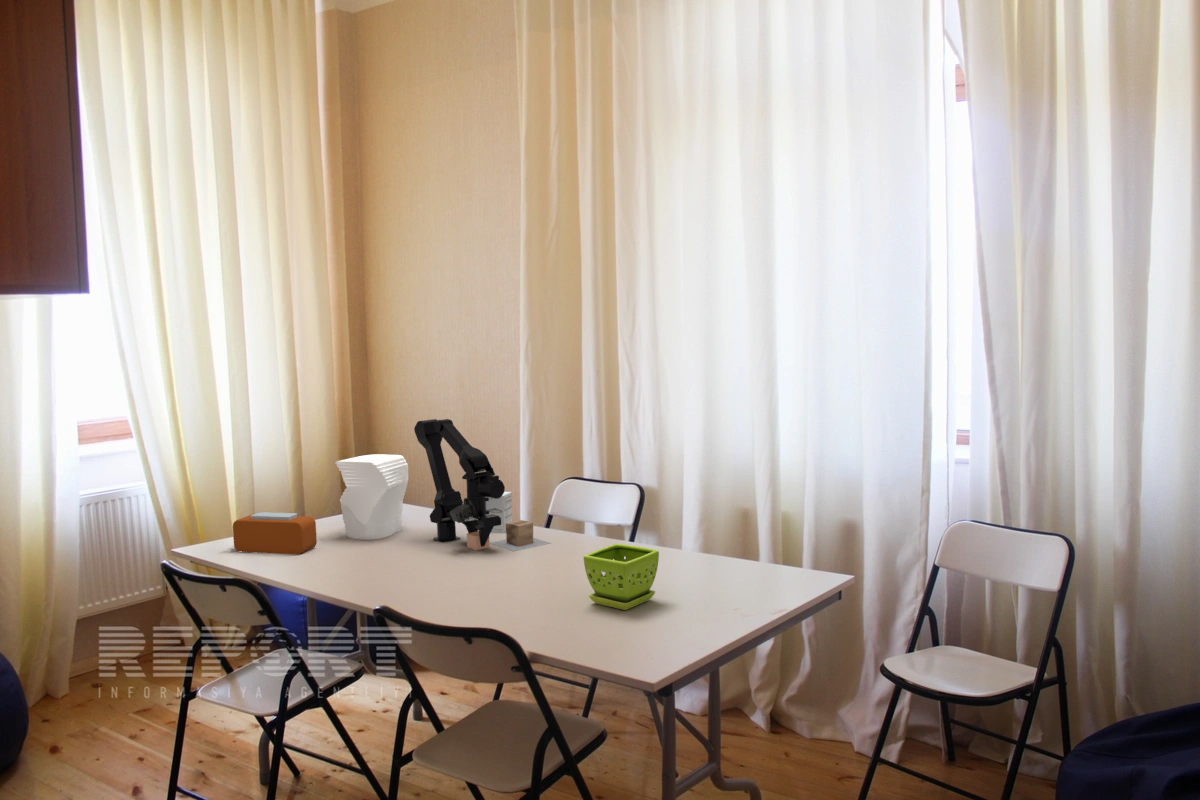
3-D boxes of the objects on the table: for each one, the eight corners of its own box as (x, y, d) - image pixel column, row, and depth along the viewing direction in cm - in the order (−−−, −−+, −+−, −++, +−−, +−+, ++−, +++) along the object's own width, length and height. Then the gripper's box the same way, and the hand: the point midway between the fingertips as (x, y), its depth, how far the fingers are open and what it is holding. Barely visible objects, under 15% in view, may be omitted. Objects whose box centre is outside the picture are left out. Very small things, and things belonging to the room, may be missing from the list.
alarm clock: (317, 548, 291) (315, 512, 289) (303, 555, 283) (300, 518, 281) (249, 545, 296) (247, 510, 295) (233, 552, 288) (231, 516, 287)
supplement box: (483, 532, 305) (482, 494, 304) (493, 527, 312) (491, 490, 311) (504, 533, 303) (503, 495, 302) (513, 528, 310) (512, 491, 309)
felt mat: (488, 543, 290) (488, 542, 290) (525, 536, 299) (525, 535, 299) (513, 552, 279) (513, 551, 279) (551, 544, 288) (551, 543, 288)
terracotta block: (467, 547, 286) (466, 533, 285) (481, 545, 289) (480, 530, 289) (475, 550, 282) (475, 536, 282) (489, 548, 285) (489, 533, 285)
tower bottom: (506, 543, 289) (506, 532, 289) (522, 539, 293) (522, 529, 293) (517, 546, 285) (516, 536, 284) (533, 543, 289) (533, 533, 288)
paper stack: (329, 538, 302) (325, 460, 299) (388, 521, 325) (385, 449, 322) (376, 546, 291) (372, 465, 288) (434, 527, 314) (431, 452, 311)
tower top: (505, 533, 289) (505, 523, 288) (520, 529, 293) (520, 519, 293) (518, 536, 284) (518, 526, 284) (533, 532, 289) (533, 522, 288)
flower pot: (617, 590, 239) (616, 542, 238) (662, 600, 230) (661, 550, 229) (582, 604, 228) (581, 554, 227) (627, 615, 219) (626, 562, 218)
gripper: (437, 494, 286) (440, 543, 288) (469, 503, 272) (471, 555, 273) (469, 489, 293) (471, 537, 295) (501, 497, 279) (503, 548, 280)
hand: (478, 544), depth 285 cm, fingers closed on terracotta block, 5 cm apart
